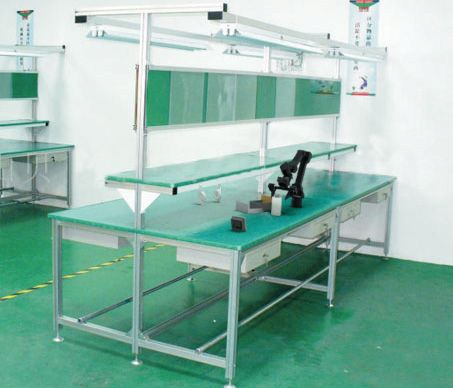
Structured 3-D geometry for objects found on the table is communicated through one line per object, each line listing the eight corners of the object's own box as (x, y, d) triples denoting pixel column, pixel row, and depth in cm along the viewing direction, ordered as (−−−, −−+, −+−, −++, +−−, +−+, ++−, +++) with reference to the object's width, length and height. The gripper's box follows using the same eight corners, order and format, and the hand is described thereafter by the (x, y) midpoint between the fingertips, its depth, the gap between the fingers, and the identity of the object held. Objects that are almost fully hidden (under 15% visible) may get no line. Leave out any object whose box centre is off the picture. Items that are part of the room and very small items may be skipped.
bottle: (278, 213, 414) (279, 193, 412) (282, 215, 409) (283, 195, 407) (269, 213, 412) (270, 193, 410) (273, 215, 407) (275, 195, 404)
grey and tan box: (261, 206, 431) (262, 194, 429) (273, 210, 421) (274, 197, 420) (248, 208, 424) (248, 195, 423) (259, 211, 415) (260, 198, 413)
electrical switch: (246, 230, 362) (246, 216, 360) (242, 233, 358) (242, 218, 356) (233, 228, 366) (233, 214, 364) (229, 230, 363) (229, 216, 360)
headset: (215, 201, 447) (217, 175, 444) (223, 202, 442) (224, 176, 439) (195, 204, 432) (196, 177, 429) (202, 206, 427) (204, 179, 424)
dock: (252, 208, 427) (252, 198, 426) (264, 212, 417) (265, 202, 415) (235, 209, 419) (236, 200, 418) (247, 213, 409) (248, 203, 408)
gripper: (269, 170, 417) (261, 189, 409) (297, 173, 408) (289, 193, 400) (274, 181, 425) (265, 200, 417) (300, 184, 416) (293, 204, 409)
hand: (278, 199), depth 411 cm, fingers open, 9 cm apart
